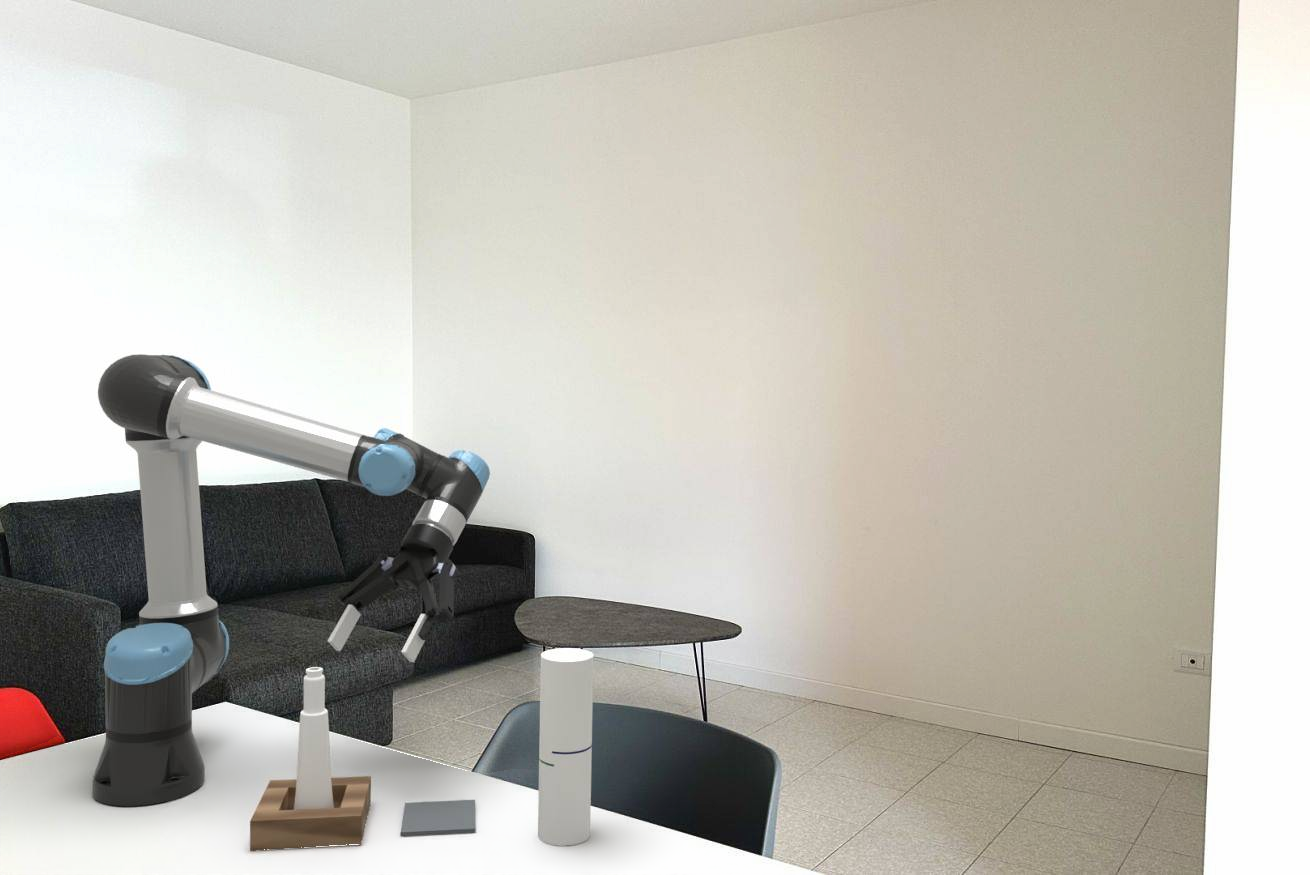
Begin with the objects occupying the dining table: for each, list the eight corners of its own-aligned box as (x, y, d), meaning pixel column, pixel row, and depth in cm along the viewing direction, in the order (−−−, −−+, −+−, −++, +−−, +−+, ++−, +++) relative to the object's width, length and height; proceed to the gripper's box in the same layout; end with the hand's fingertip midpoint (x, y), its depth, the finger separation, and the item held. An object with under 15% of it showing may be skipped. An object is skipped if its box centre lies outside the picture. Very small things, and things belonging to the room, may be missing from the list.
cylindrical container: (582, 848, 141) (585, 663, 139) (531, 842, 142) (533, 659, 141) (595, 826, 148) (599, 650, 146) (546, 821, 149) (549, 646, 148)
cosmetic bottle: (317, 838, 142) (317, 677, 141) (281, 830, 144) (281, 671, 143) (345, 821, 148) (346, 666, 146) (310, 813, 150) (311, 660, 149)
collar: (270, 807, 152) (270, 780, 151) (370, 802, 154) (370, 776, 154) (250, 851, 138) (250, 821, 138) (360, 845, 140) (361, 815, 140)
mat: (405, 806, 153) (405, 802, 153) (475, 803, 155) (475, 799, 155) (400, 836, 143) (400, 832, 143) (475, 832, 145) (475, 828, 145)
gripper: (508, 556, 164) (451, 675, 152) (381, 544, 175) (317, 655, 162) (489, 526, 159) (428, 647, 146) (359, 516, 170) (291, 628, 157)
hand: (369, 651), depth 154 cm, fingers open, 13 cm apart
